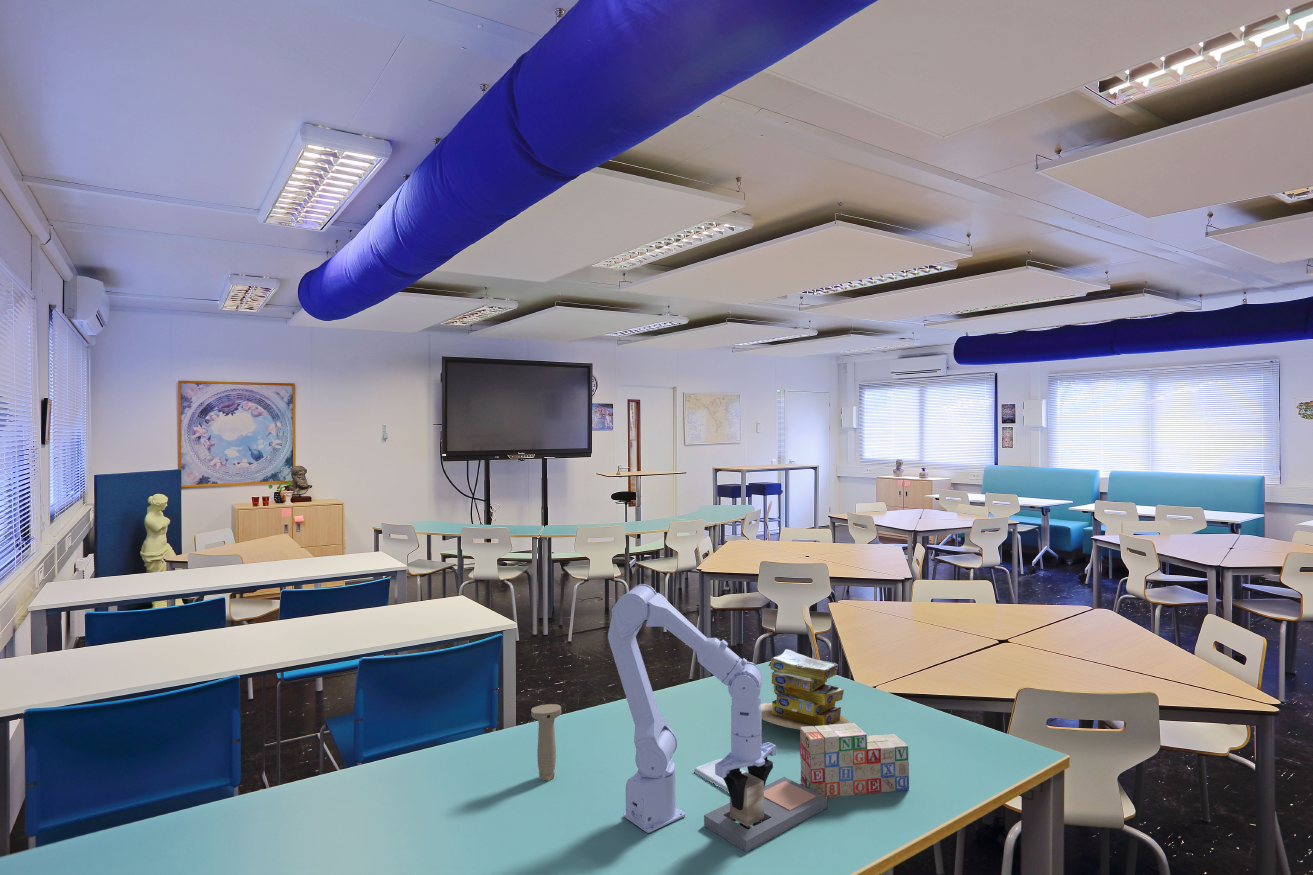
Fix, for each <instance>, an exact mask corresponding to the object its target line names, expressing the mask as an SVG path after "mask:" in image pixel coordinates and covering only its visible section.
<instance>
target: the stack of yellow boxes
mask: <svg viewBox="0 0 1313 875" xmlns="http://www.w3.org/2000/svg"><path fill="white" fill-rule="evenodd" d="M767 666H768V667H770V670H771V671H773V672H771V684H772V685H773V693H774V694H775V695H776V698H775V699H774V700H772V701H771V702H763V703H760V705H761V720H763V721H765V722H768V723H770V724H774V725H777V726H779V727H780V728H781V727H785V728H790V729H796V730H800V727H807V726H822V725H833V724H846V723H851V722H850V720H849V719H847V718H846V717H844V716H842V715H841V710H842V707H840V706H839V707H836V703H837V702H840V701H842V700H843V697H844V696H843V695H844V691H845V689H844V688H842V687H838V686H834V685H829V684H826V683H827V682H828V679H830V678H833V677H834V676H837V674H838V669H839V668H838V667H839V664H837V663H836V662H831V661H826V660H820V659H815V658H812V657H809V656H806V655H804V654H800V653H798V652H796V651H794V650H791V649H788V648H786V649H784V651H783V652H782V653H779V654H778V655H775V656H774V657H772V658H771V659H770V661H769V663H768V665H767Z"/></svg>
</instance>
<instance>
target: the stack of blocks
mask: <svg viewBox="0 0 1313 875" xmlns="http://www.w3.org/2000/svg"><path fill="white" fill-rule="evenodd" d="M799 730H800V731H799V734H800V735H799V737H800V741H799V755H800V756H799V757H800V785H803V786H804V787H806V788H808V789H810V790H813V791H815V792H817V793H819V794H821V795H823V796H825V797H827V798H831V797H845V796H846V797H847V796H854V795H864V794H877V793H888V792H889V793H890V792H902V791H909V790H910V761H909V746H908V745H907V743H906V742H904V741H903V740H902V739H900V738H899V737H898V736H897V735H896V734H895V733H889V734H888V733H887V734H876V735H875V734H873V735H868V734H867V733H866V732H865V731H864V730H863V729H861V727H859V726H858V725H857V724H856V723H855V722H850V723H846V724H833V725H822V726H807V727H800V729H799Z"/></svg>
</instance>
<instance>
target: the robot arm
mask: <svg viewBox="0 0 1313 875" xmlns="http://www.w3.org/2000/svg"><path fill="white" fill-rule="evenodd" d="M611 614H612V615H611V618H610V619H611V620H610V625H609V629H608V633H607V640H608V643H609V646H610V649H611V652H612V657H613V659H614V662H615V663H614V664H615V666H616V668H617V671H618V675H619V678H620V682H621V684H622V688H623V690H624V695H625V698H626V701H627V704H628V707H629V711H630V714H631V717H632V719H633V720H632V721H633V724H634V736H633V743H634V746H635V756H634V757H635V758H634V760H635V766H636V767H637V771H636V772H635V773H634V775H632V776H631V777H629V778H628V779H627V780H626V782H625V812H624V813H623V817H624V818H625V819H627V820H628V821H629V822H631V823H632V824H634V825H636V826H637V827H638V828H640V829H641V830H643V831H644V832H645V833H648V834H650V833H652V832H654V831H656V830H658V829H660V828H662V827H665V826H667V825H668V824H671V823H673V822H676V821H679V819H680V820H681V818H684V817H685V816H686V813H685V812H684V811H683V810H681V809H679V808H678V807H677V806H676V805H677V804H676V803H677V802H676V801H677V799H676V798H677V797H676V764H675V762H674V759H673V755H674V754H675V752H676V750H677V748H678V738H677V735H676V733H675V732H674V731H673V730H672V729H671V727H670V726H669V725H668V722H667V719H666V718H665V717H664V716H663V715H661V713H660V710H659V707H658V704H657V701H656V698H655V694H654V692H653V688H652V684H651V682H650V679H649V675H648V672H647V670H646V666H645V663H644V660H643V656H642V653H641V650H640V648H639V644H638V641H637V638H636V637H637V635H638V633H639V631H640V630H641V628H642V626H643V625H644V622H645V621H646V625H645V627H647V628H648V627H649V628H650V627H653V628H654V627H659V628H660V627H662V628H664V629H666V630H668V632H670V634H672V635H674V636H675V637H676V638H677V639H679V640H680V641H681V642H683V644H686V646H688V647H689V648H690V649H692V650H693V651H694V652H695V653H696V657H697V662H698V663H699V664H700V665H701V666H702V667H704V668H705V669H706V670H707V672H709V673H711V674H712V675H713V676H714V677H715V678H716V679H717V680H718V681H720V682H721V683H722V684H723V685H726V686H727V690H728V693H729V695H730V697H731V705H730V740H731V741H730V746H731V747H730V750H731V751H730V752H729V753H728V754H727V755H725V757H723V759H722V760H721V761H720V762H718V763H716V764H715V774H716V775H718V776H719V777H721V778H723V779H724V781H725V783H726V786H727V788H728V791H729V793H728V794H729V799H730V798H731V802H732V806H733V807H734V808H736V809H738V810H742V809H743V804H744V790H745V785H746V782H747V779H748V777H747V776H745V775H743V774H742V771H740V768H741V769H743V768H746V767H747V768H746V769H747V772H748V773H749V774H751V775H753V776H755V777H757V778H759V779H761V780H763V781H764V786H766V782H767V780H768V777H769V775H770V774H771V772H772V770H773V768H774V763H773V761H772V760H769V759H768V757H769V756H771V757H775V756H776V755H777V745H776V744H774V743H772V742H769V741H768V742H767V741H766V742H765V743H764V742H763V743H762V741H763V740H762V739H763V738H762V734H763V733H762V730H763V729H762V719H761V705H760V704H762V703H761V702H762V698H761V687H762V684H763V674H762V672H761V670H760V669H759V667H758V666H757V665H756V663H754V662H751V661H748V660H747V659H745V658H744V657H743V658H741V657H740V656H739V655H737V654H736V653H735V652H734V651H733V650H732V649H731V648H729V647H728V645H729V642H727V641H726V640H725V639H722V640H720V639H718V638H717V637H707V636H706V635H704V634H703V633H702V632H701V631H700V630H699V628H697V627H696V626H695V625H694V624H693V623H692V622H690V621H689V619H687V618H686V616H684V615H683V614H682V613H681V611H679V610H678V609H676V607H674V606H673V605H672V604H671V603H670V601H668V600H667V598H666V597H665V596H664V595H663V594H661V593H660V592H657V591H656V590H655V588H653V587H652V586H650V585H648V584H645V583H640V584H637V585H635V586H633V587H632V588H631V589H630V590H629V591H628V592H627V593H625V594H622V595H621V596H620V597H619V599H618V600H617V601H616V603H615V604H614V605H613V607H612V608H611Z"/></svg>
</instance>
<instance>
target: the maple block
mask: <svg viewBox="0 0 1313 875" xmlns="http://www.w3.org/2000/svg"><path fill="white" fill-rule="evenodd" d="M747 772H748V771H746V772H745V773H743V775H745V776H747V777H748V779H747V782H746V785H745V790H744V804H743V809H742V810H738V809H736V808H734V807H733V806H732V802H731V798H730V797H729V803H730V817H732V818H733V819H735V820H734V821H736V822H739V824H740V823H741V824H742V825H743V826H745V827H750V826H751V825H754V824H757V822H761V821H760V820H762V819H764V781H763V780H761V779H759V778H757V777H755V776H753V775H751V774H749V773H747Z"/></svg>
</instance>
